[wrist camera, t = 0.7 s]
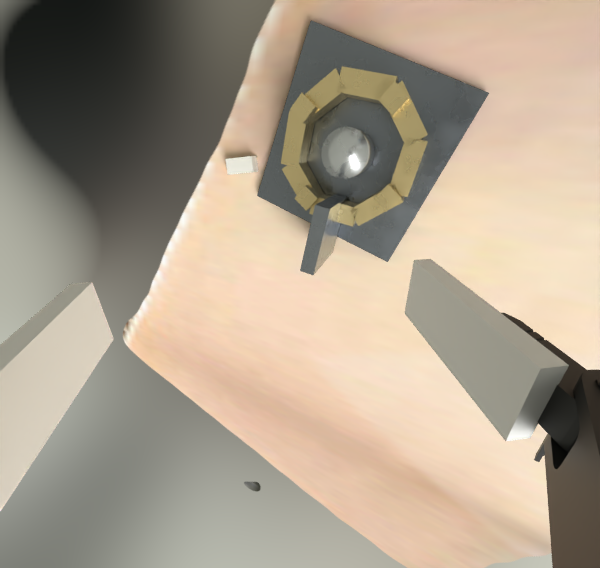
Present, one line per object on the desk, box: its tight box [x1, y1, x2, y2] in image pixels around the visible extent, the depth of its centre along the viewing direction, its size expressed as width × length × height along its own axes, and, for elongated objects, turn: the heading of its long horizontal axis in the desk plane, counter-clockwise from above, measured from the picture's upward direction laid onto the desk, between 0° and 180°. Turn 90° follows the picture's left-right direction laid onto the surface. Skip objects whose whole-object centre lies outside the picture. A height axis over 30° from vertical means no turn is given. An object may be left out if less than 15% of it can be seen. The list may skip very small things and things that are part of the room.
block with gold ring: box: [281, 66, 428, 275], centre depth 33 cm, size 20×15×9 cm
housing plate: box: [257, 21, 489, 262], centre depth 34 cm, size 20×20×6 cm
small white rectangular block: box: [225, 156, 258, 175], centre depth 41 cm, size 4×2×2 cm, turn 96°
